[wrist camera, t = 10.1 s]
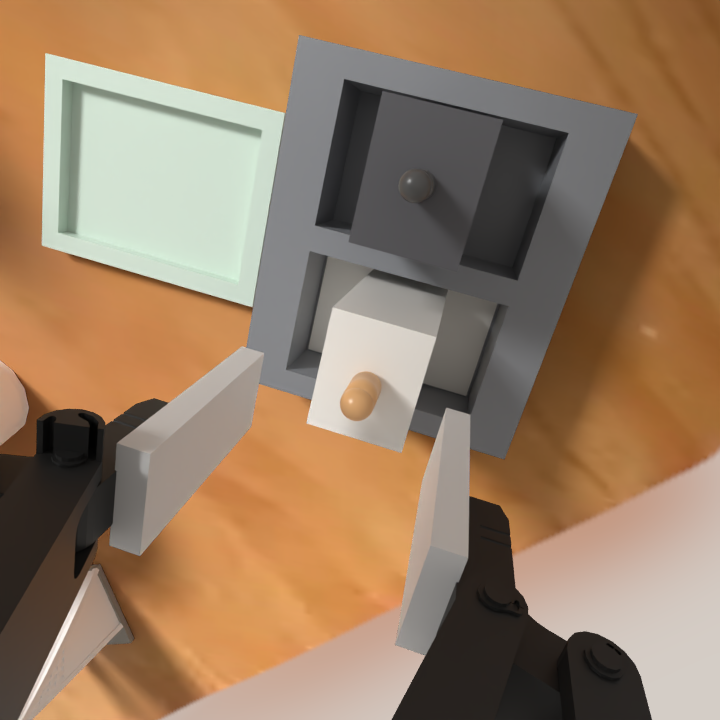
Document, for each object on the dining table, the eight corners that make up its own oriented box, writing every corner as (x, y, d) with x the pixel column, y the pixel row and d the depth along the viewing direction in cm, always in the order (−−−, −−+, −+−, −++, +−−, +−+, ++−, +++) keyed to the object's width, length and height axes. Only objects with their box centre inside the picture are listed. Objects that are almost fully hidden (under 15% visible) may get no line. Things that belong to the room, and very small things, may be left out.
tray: (63, 58, 29) (45, 53, 28) (293, 115, 28) (284, 113, 26) (57, 242, 32) (41, 245, 31) (260, 301, 31) (252, 307, 30)
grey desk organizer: (324, 54, 26) (212, -33, 15) (613, 123, 25) (725, 81, 14) (268, 354, 32) (157, 450, 21) (501, 424, 31) (515, 568, 19)
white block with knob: (374, 268, 29) (312, 325, 18) (448, 288, 28) (430, 360, 17) (353, 354, 30) (284, 455, 20) (422, 375, 30) (391, 489, 19)
